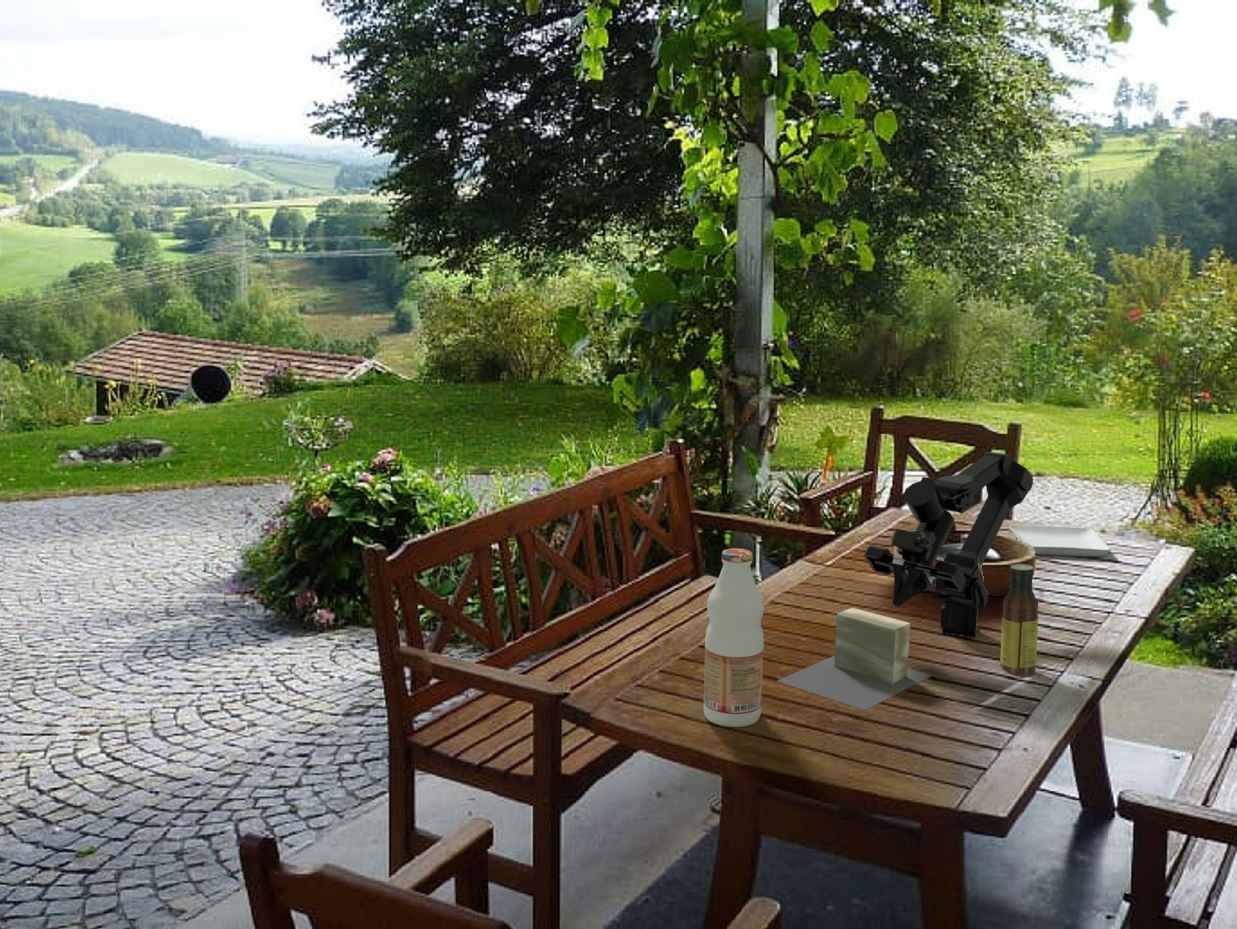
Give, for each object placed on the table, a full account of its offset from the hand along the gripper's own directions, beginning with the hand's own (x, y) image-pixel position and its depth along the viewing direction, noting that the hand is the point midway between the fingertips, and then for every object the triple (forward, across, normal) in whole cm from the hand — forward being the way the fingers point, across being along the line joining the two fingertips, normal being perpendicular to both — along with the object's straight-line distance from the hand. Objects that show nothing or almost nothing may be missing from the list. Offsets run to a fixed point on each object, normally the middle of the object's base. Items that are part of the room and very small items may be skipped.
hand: (895, 605), depth 214 cm
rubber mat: (+17, 0, -1) cm, 17 cm away
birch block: (+13, 0, +2) cm, 13 cm away
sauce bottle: (-1, +18, +17) cm, 25 cm away
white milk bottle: (+36, -6, -20) cm, 42 cm away
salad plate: (-64, -14, +81) cm, 105 cm away
